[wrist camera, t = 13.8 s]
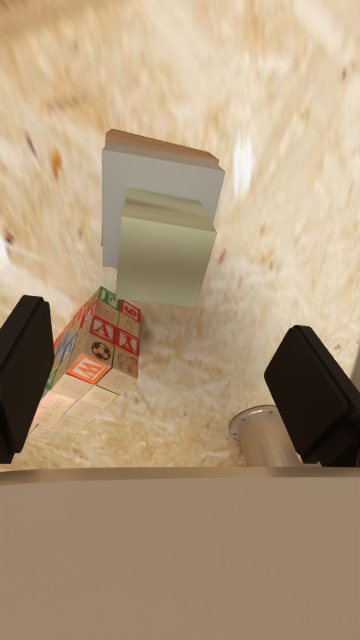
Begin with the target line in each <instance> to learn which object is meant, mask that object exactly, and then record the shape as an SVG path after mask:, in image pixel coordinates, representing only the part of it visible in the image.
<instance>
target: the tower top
mask: <svg viewBox="0 0 360 640" xmlns="http://www.w3.org/2000/svg"><path fill="white" fill-rule="evenodd" d="M224 174H225V171H224V170H223V169H222V168H221V167H220V166H218V165H217V164H216V163H215V162H214V161H212V160H211V159H205V158H200V157H195V156H189V155H184V154H178V153H173V152H167V151H162V150H156V149H151V148H145V147H140V146H134V145H129V144H124V143H118V142H113V141H110V142H109V143H108V144H107V145H106V146H105V147H104V148H103V149H102V221H103V266H105V267H115V268H118V260H119V246H120V232H121V218H122V212H123V208H124V204H125V199H126V195H127V190H128V187H131V188H136V189H141V190H146V191H151V192H156V193H161V194H167V195H172V196H177V197H182V198H187V199H192V200H197V201H200V202H201V204H202V206H203V208H204V209H205V211H206V213H207V215H208V217H209V219H210V221H211V222H212V224H213V221H214V216H215V212H216V208H217V204H218V200H219V195H220V191H221V187H222V183H223V179H224Z"/></svg>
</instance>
